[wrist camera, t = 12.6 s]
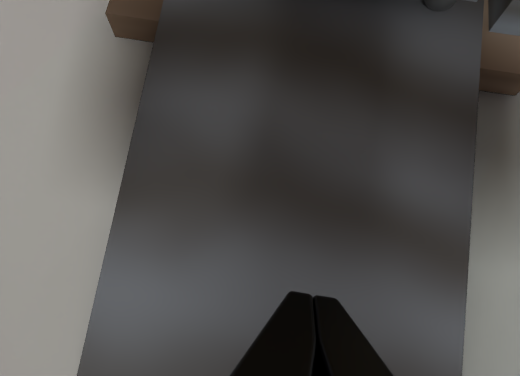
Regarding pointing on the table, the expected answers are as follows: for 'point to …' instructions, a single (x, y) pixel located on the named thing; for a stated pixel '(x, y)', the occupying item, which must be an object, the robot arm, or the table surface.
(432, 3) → the yellow box
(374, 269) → the dock
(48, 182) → the table surface
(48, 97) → the table surface
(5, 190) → the table surface
